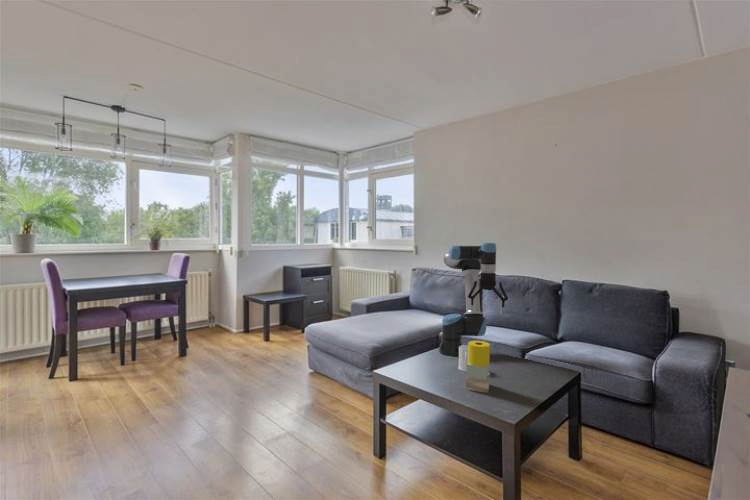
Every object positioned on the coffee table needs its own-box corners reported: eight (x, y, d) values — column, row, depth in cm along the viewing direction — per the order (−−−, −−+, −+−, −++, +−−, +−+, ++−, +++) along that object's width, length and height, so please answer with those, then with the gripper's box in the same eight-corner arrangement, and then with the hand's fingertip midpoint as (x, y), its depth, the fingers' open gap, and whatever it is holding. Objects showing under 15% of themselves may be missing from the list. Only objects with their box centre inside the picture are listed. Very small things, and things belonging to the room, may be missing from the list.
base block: (469, 382, 186) (469, 370, 185) (489, 385, 182) (490, 373, 182) (466, 389, 176) (466, 377, 176) (487, 393, 173) (488, 380, 172)
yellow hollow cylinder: (485, 368, 172) (486, 348, 172) (464, 363, 178) (465, 344, 177) (492, 362, 180) (492, 342, 180) (472, 358, 186) (472, 339, 185)
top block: (470, 370, 185) (470, 358, 185) (488, 373, 181) (488, 361, 181) (466, 376, 177) (466, 364, 177) (486, 380, 173) (486, 367, 173)
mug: (472, 374, 195) (472, 352, 194) (456, 372, 198) (456, 350, 197) (475, 367, 205) (475, 346, 205) (459, 365, 209) (459, 344, 208)
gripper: (462, 271, 195) (462, 311, 196) (513, 274, 186) (512, 315, 187) (465, 270, 202) (464, 309, 203) (513, 272, 193) (513, 312, 194)
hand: (487, 312), depth 195 cm, fingers open, 13 cm apart
